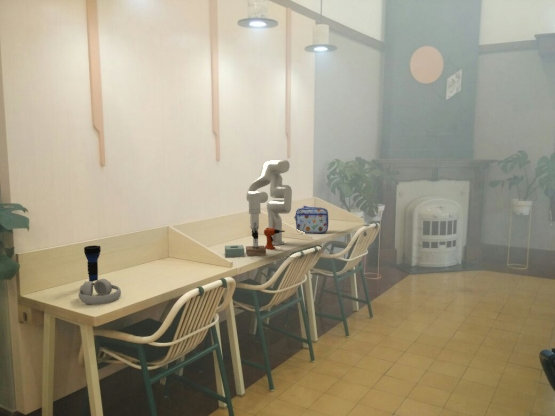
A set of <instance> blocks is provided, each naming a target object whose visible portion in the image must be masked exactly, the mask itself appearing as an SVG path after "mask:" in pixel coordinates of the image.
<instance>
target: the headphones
mask: <svg viewBox="0 0 555 416" xmlns="http://www.w3.org/2000/svg"><path fill="white" fill-rule="evenodd" d="M93 283H94V285H93ZM113 290H115V291H114V292H113ZM94 291H95V292H96V293H97V294H98V295H93V294H94ZM121 295H122V290H121V288H120V287H119V286H117V285H113V284H112V283H111V281H109V280H108V279H106V278H100V279H98V280H96V281H93V282H92V281H85V282H84V283H83V284H82V285H80V287H79V292H78V297H79V299H80V300H81V302H82V303H83V304H84V305H93V306H96V305H97V306H98V305H104V304H109V303H112V302H115V301H117V300H118V299H119V298H121Z"/></svg>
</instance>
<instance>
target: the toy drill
mask: <svg viewBox="0 0 555 416" xmlns="http://www.w3.org/2000/svg"><path fill="white" fill-rule="evenodd" d="M280 232H282V233H285V232H286V230H283V229H282V231H280V230H277V229H273V228H272V229H271V228H269V227H266V228H265V229H264V231H263V234H264V236H265V238H266V244H265V245H264V247H265V248H266V250H269V251H270V250H272V251H273V250H276V247H275V245H272V241H273V238H272V235H275V234H277V233H280Z"/></svg>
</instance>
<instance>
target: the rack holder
mask: <svg viewBox="0 0 555 416" xmlns="http://www.w3.org/2000/svg"><path fill="white" fill-rule="evenodd" d="M224 257H225V258H229V257H230V258H231V257H233V258H235V257H236V258H237V257H245V248H244V244H238V245H237V244H235V245H224Z"/></svg>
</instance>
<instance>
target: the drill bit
mask: <svg viewBox="0 0 555 416" xmlns="http://www.w3.org/2000/svg"><path fill="white" fill-rule="evenodd" d="M252 242H253V243H252V246H253V248H258V246H259V238H258V239H253V238H252Z"/></svg>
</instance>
